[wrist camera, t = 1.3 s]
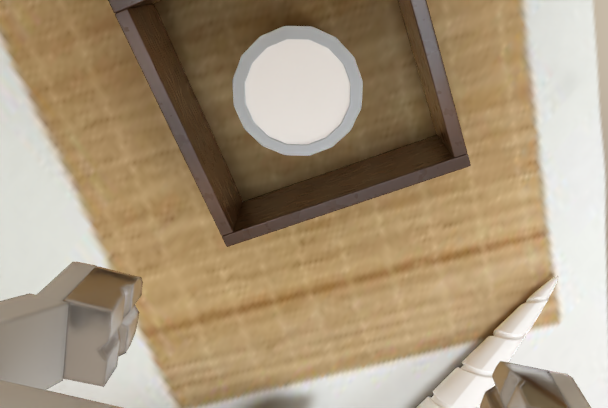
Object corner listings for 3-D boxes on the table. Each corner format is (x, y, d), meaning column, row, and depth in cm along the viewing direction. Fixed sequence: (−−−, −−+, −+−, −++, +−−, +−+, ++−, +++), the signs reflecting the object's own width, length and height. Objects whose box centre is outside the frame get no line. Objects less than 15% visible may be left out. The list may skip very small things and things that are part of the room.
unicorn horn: (591, 297, 41) (625, 337, 36) (394, 481, 48) (401, 532, 44) (545, 265, 40) (574, 302, 35) (351, 458, 48) (355, 507, 43)
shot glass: (260, 132, 36) (247, 167, 30) (236, 26, 33) (217, 39, 27) (361, 114, 35) (372, 145, 29) (345, 5, 33) (353, 12, 26)
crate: (136, -5, 33) (106, -2, 28) (381, -109, 30) (393, -124, 26) (237, 214, 38) (226, 247, 34) (451, 141, 36) (471, 166, 31)
